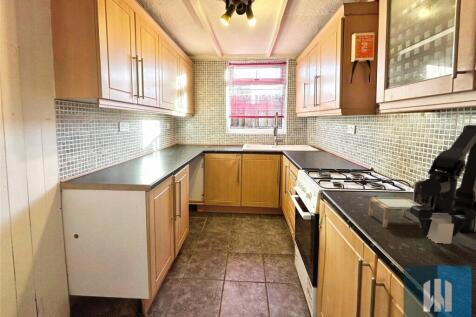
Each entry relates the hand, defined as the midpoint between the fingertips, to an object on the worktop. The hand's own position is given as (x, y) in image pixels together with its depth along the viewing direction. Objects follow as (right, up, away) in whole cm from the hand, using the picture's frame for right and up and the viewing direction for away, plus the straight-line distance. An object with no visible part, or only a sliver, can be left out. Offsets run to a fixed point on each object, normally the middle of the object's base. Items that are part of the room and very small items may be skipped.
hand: (438, 236), depth 94 cm
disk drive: (+5, +4, +40) cm, 40 cm away
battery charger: (+21, +4, +40) cm, 46 cm away
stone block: (0, -2, 0) cm, 2 cm away
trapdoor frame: (-6, +1, +16) cm, 17 cm away
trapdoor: (-6, +8, +15) cm, 18 cm away
